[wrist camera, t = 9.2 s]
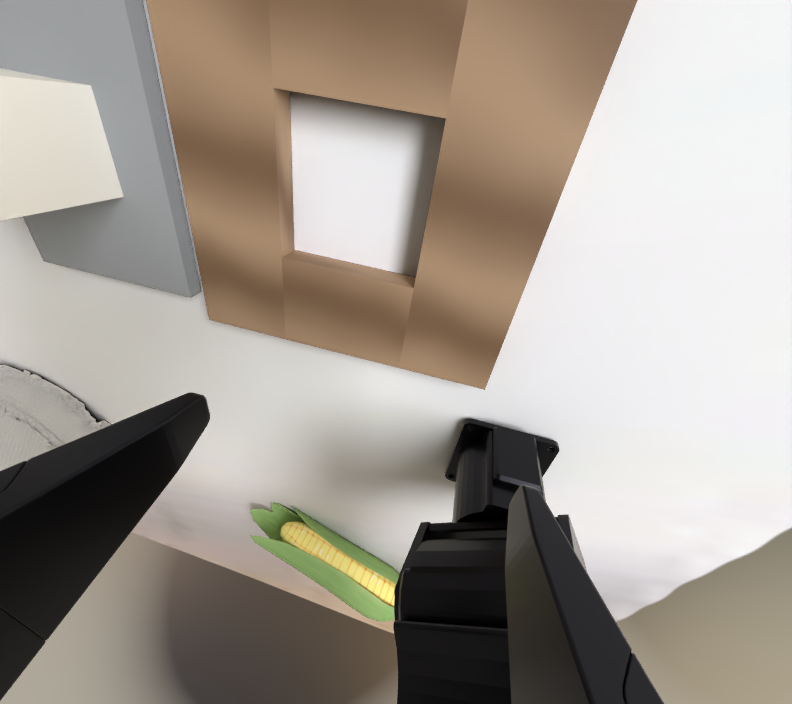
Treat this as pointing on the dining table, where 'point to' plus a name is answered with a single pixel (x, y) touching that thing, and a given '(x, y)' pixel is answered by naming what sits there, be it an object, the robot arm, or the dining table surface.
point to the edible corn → (329, 560)
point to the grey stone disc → (37, 417)
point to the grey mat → (109, 140)
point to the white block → (51, 146)
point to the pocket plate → (395, 89)
